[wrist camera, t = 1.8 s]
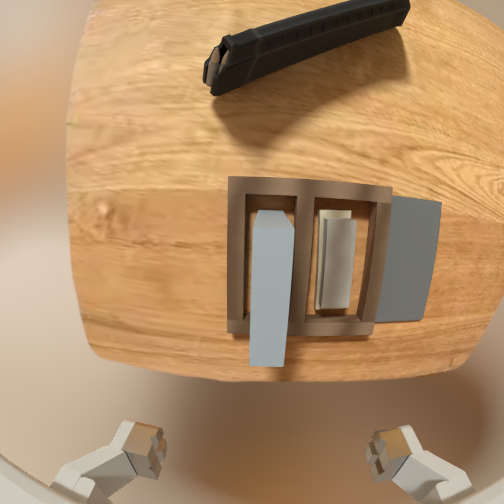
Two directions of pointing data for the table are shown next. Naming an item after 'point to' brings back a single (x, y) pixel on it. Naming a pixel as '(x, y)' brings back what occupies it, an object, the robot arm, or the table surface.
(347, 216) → the offcut lower
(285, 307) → the sheet
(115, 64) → the table surface
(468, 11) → the table surface
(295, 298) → the rack
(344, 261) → the offcut upper
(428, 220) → the mat
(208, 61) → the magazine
